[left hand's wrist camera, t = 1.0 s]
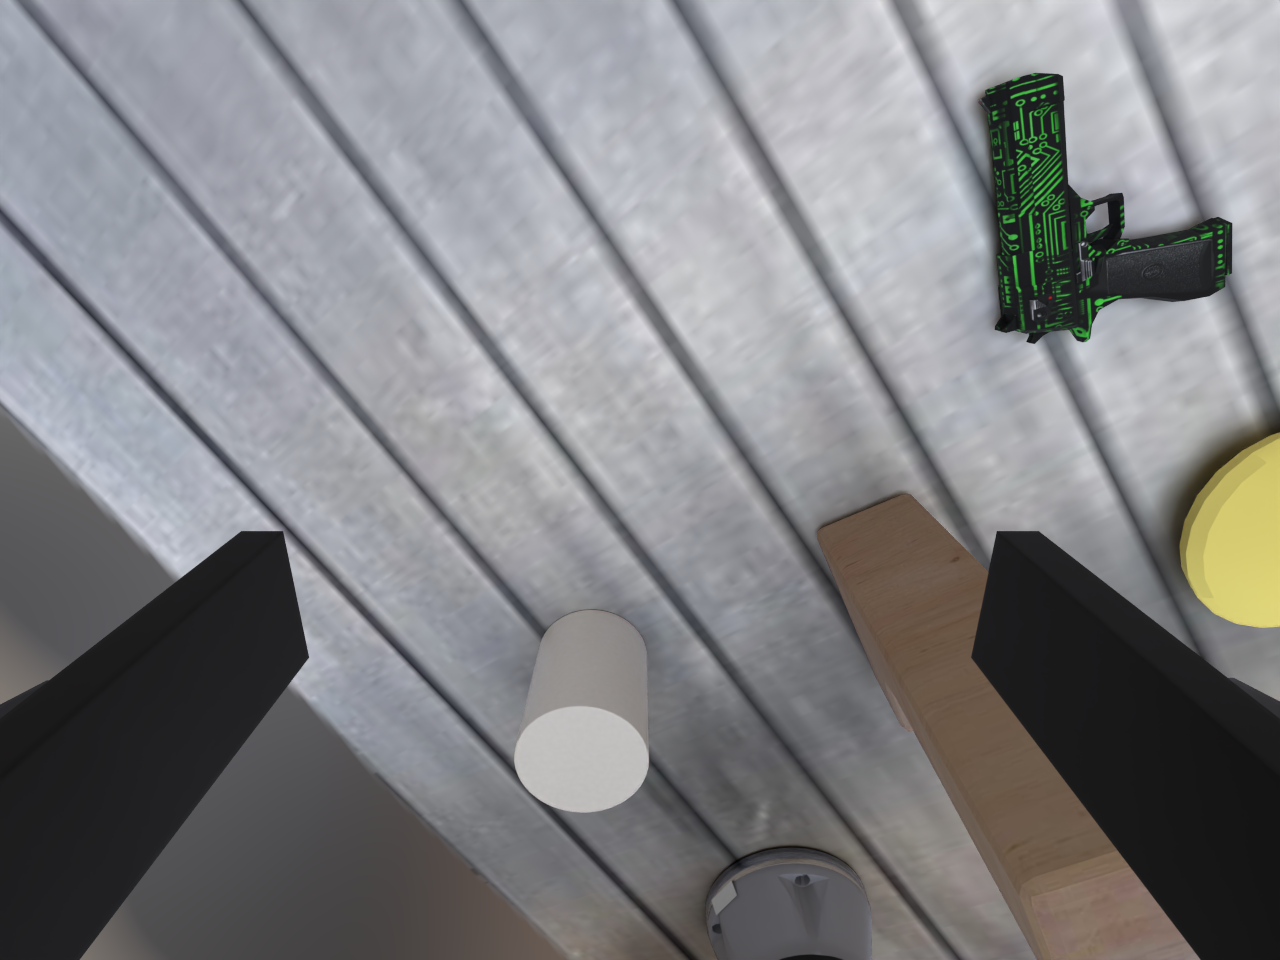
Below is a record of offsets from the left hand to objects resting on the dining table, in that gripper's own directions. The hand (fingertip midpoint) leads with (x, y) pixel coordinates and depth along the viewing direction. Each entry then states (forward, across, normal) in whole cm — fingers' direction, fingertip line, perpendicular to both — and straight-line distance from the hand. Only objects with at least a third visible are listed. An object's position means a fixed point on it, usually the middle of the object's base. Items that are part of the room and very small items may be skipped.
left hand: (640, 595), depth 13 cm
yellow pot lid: (+35, +46, -14) cm, 60 cm away
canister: (+35, -4, -26) cm, 44 cm away
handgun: (+35, +28, +7) cm, 46 cm away
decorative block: (+35, +20, -20) cm, 45 cm away
